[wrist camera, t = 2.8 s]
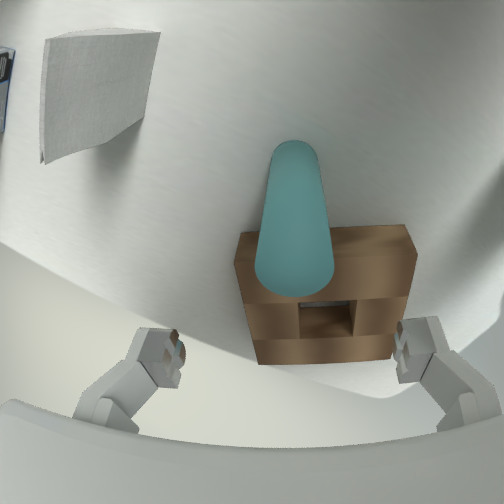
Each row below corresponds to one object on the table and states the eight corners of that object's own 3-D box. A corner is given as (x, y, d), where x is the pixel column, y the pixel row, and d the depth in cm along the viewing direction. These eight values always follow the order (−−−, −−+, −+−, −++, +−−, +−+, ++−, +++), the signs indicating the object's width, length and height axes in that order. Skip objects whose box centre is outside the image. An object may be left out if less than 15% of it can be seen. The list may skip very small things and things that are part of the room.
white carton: (160, 32, 18) (78, 39, 10) (144, 116, 22) (69, 171, 14) (116, 27, 17) (23, 40, 10) (103, 109, 22) (20, 159, 14)
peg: (316, 138, 22) (334, 234, 12) (318, 181, 24) (333, 295, 14) (268, 142, 22) (248, 238, 13) (274, 183, 24) (259, 298, 15)
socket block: (404, 224, 25) (417, 253, 22) (384, 330, 33) (390, 359, 30) (241, 232, 28) (233, 262, 24) (261, 335, 36) (258, 364, 33)
